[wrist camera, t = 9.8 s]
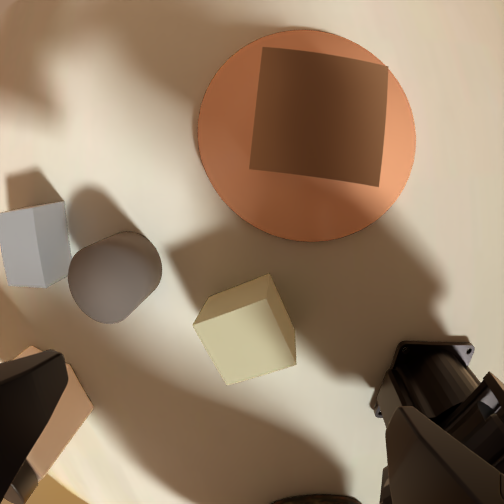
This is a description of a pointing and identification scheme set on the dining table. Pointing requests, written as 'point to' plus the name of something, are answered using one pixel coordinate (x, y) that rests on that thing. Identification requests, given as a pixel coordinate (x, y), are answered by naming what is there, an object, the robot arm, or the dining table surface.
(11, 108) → the dining table surface
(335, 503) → the pitcher
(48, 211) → the plastic brick
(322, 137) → the walnut block
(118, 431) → the dining table surface
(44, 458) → the jar
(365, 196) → the coaster
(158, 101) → the dining table surface
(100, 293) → the grey cylinder
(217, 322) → the sage cube
